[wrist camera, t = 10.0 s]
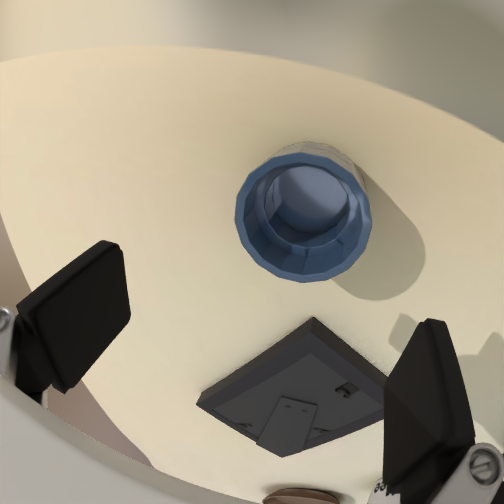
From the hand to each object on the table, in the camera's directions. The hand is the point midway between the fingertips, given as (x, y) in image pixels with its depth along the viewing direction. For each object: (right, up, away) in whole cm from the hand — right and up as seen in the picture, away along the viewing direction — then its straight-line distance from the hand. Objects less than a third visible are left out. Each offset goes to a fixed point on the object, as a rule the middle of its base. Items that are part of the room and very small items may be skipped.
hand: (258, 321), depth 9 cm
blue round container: (+4, +6, +11) cm, 13 cm away
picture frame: (+4, -13, +20) cm, 24 cm away
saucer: (+9, -42, +34) cm, 55 cm away
